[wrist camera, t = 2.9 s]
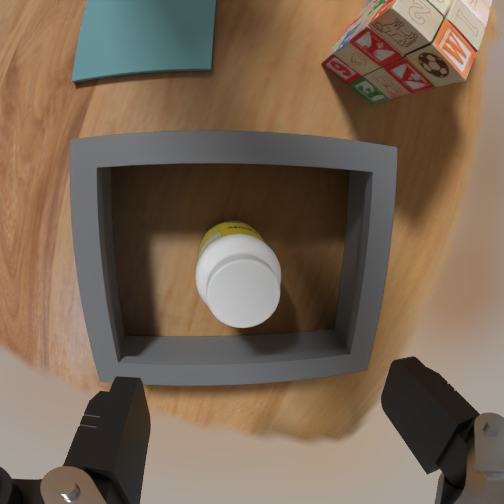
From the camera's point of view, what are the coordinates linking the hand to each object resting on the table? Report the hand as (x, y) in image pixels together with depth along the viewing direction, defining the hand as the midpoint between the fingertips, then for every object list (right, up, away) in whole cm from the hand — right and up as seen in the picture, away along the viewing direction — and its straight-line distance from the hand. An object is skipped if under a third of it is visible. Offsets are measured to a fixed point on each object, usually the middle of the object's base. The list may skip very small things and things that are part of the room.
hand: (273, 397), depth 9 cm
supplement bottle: (-2, +5, +17) cm, 18 cm away
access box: (-2, +5, +17) cm, 18 cm away
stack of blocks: (+13, +28, +13) cm, 34 cm away
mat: (-10, +25, +11) cm, 29 cm away
